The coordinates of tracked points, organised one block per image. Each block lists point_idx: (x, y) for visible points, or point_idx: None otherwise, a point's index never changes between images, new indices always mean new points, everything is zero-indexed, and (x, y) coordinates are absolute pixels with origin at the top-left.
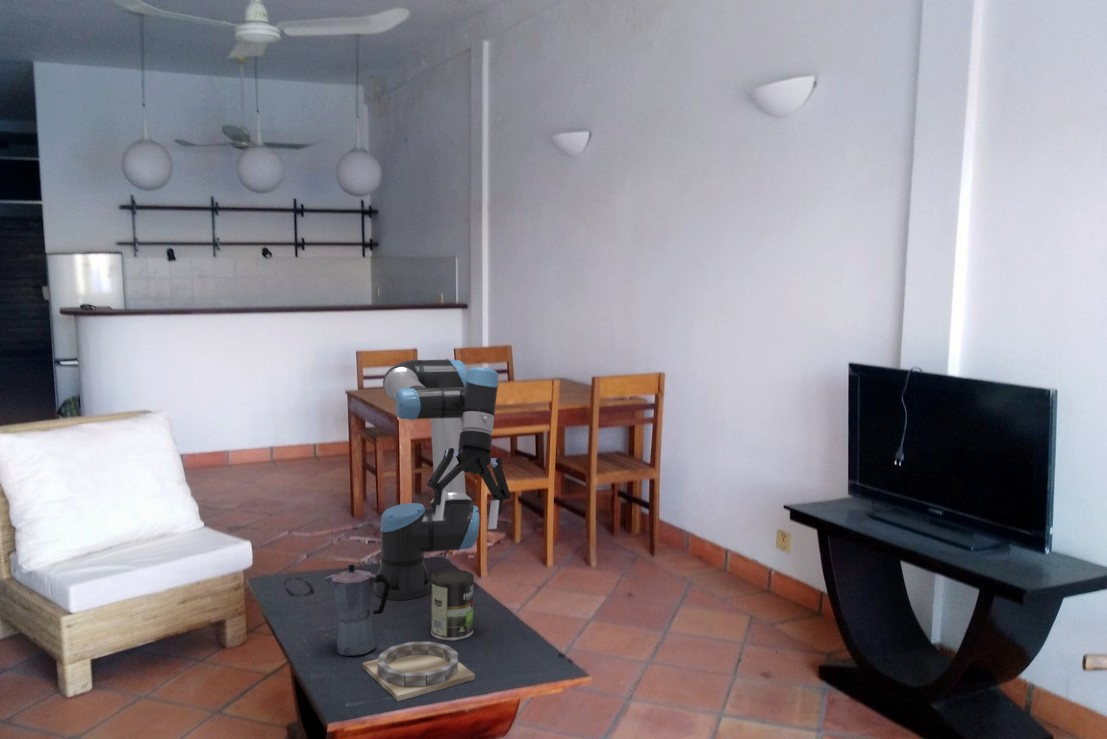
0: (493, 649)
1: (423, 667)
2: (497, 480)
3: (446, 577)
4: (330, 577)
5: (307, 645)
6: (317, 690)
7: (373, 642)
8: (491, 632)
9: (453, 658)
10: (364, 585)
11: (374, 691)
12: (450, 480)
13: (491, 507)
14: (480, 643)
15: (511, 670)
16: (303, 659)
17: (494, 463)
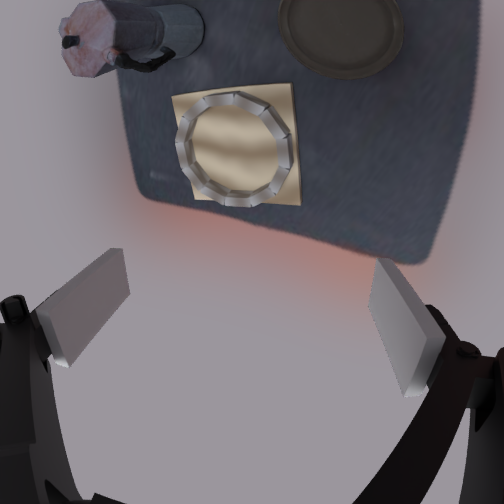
0: (381, 135)
1: (243, 148)
2: (491, 473)
3: (321, 18)
4: (60, 34)
5: None
6: (127, 130)
7: (192, 45)
8: (416, 74)
9: (275, 182)
10: (106, 69)
11: None
12: (51, 412)
13: (407, 325)
14: (374, 101)
15: (361, 208)
16: None
17: None
